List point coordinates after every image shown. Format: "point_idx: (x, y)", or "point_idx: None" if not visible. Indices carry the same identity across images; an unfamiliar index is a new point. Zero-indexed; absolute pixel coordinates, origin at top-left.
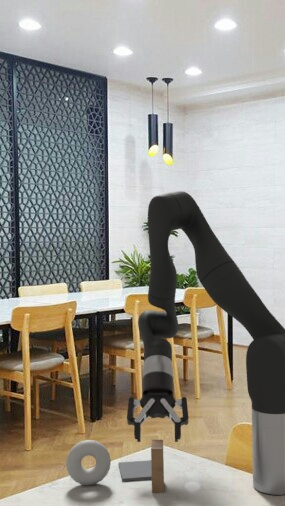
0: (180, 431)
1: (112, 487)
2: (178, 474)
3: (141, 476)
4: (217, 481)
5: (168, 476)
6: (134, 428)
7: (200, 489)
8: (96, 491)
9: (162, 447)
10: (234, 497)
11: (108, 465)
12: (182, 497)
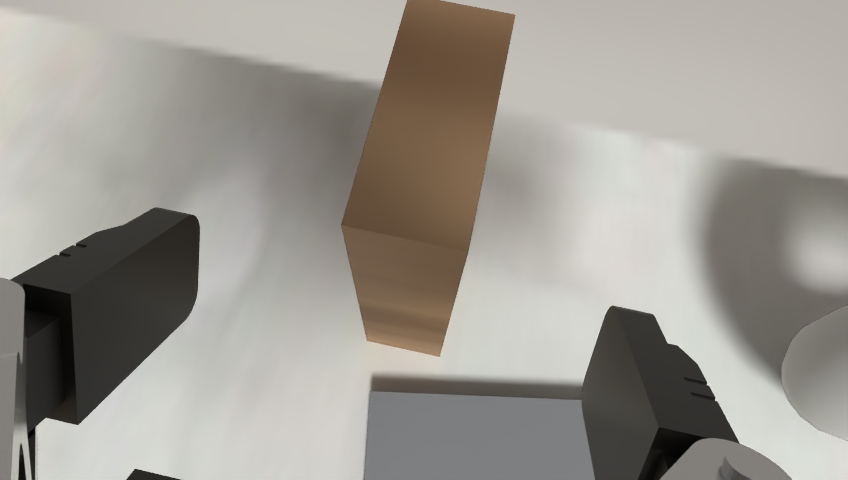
0: (71, 248)
1: (704, 322)
2: (232, 443)
3: (513, 411)
4: (31, 266)
5: (314, 421)
6: (724, 422)
7: (186, 182)
8: (798, 286)
9: (402, 23)
10: (58, 60)
11: (812, 326)
12: (320, 114)
